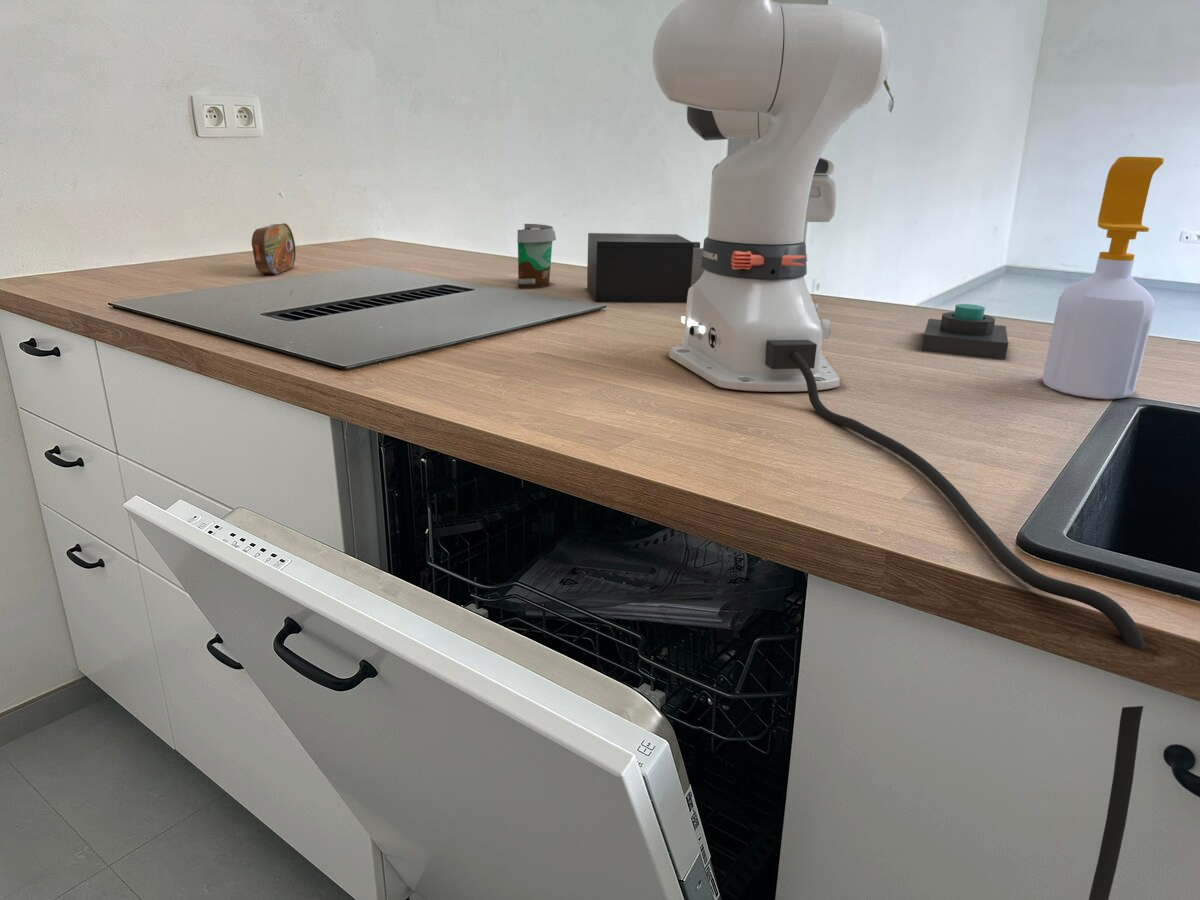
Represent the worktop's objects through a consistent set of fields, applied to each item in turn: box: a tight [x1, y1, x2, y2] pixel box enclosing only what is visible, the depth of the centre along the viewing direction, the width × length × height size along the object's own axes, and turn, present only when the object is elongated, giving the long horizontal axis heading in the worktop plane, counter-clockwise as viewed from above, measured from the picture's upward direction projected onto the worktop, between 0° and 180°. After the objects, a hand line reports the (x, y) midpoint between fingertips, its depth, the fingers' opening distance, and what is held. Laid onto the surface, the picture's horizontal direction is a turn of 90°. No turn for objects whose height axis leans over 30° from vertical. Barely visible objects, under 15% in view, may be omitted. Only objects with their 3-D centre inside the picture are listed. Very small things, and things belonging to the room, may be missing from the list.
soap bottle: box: [1042, 156, 1165, 400], centre depth 92 cm, size 9×9×25 cm
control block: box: [921, 311, 1009, 361], centre depth 114 cm, size 12×10×4 cm
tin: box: [251, 222, 297, 276], centre depth 158 cm, size 15×3×8 cm, turn 179°
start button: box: [953, 303, 986, 320], centre depth 113 cm, size 4×4×2 cm
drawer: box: [691, 241, 704, 287], centre depth 145 cm, size 19×11×8 cm, turn 97°
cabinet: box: [586, 232, 694, 303], centre depth 144 cm, size 16×13×10 cm
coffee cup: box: [516, 223, 557, 289], centre depth 152 cm, size 12×6×10 cm, turn 179°
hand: (768, 249), depth 141 cm, fingers closed
